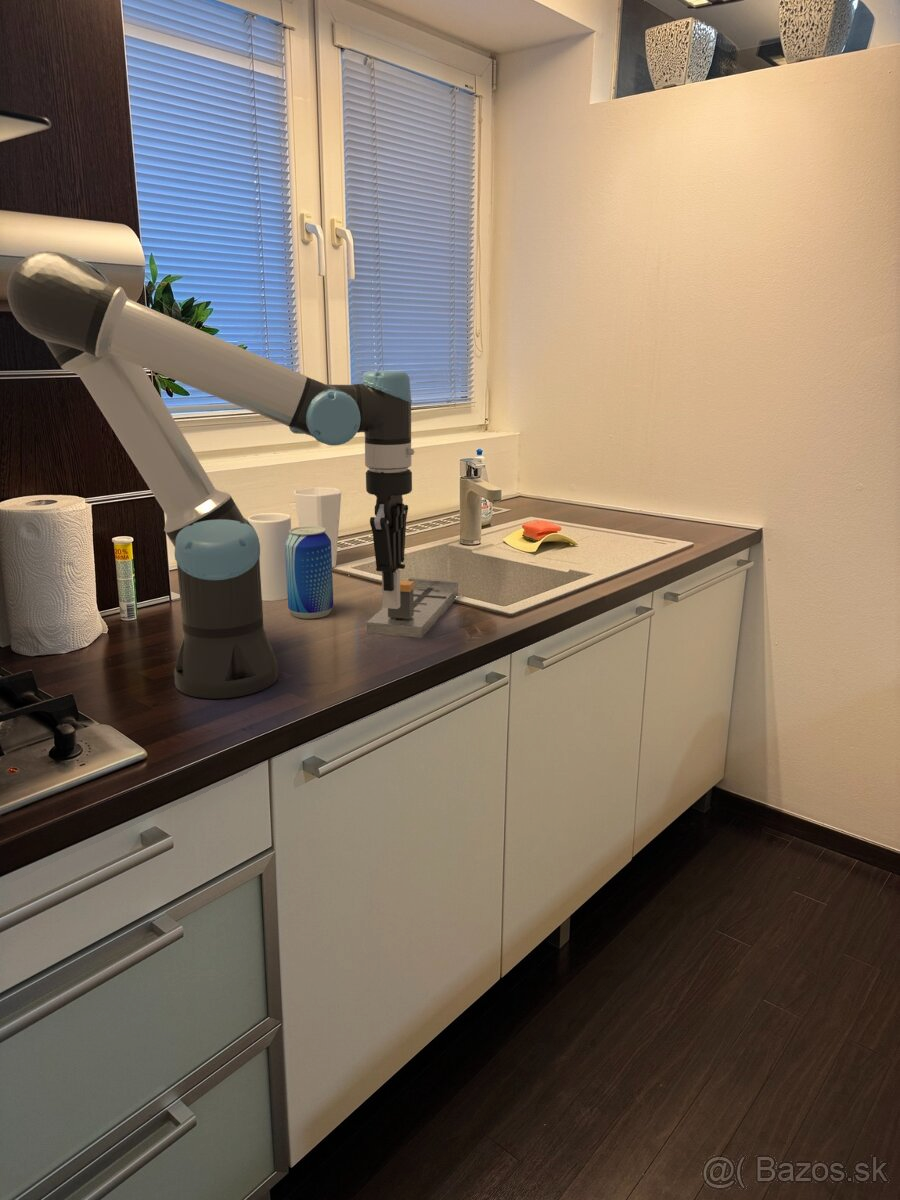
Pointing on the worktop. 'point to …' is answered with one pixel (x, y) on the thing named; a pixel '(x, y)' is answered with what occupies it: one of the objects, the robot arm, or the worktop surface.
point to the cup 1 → (272, 553)
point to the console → (417, 609)
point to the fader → (404, 601)
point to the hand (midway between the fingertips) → (391, 607)
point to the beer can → (309, 572)
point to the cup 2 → (320, 511)
